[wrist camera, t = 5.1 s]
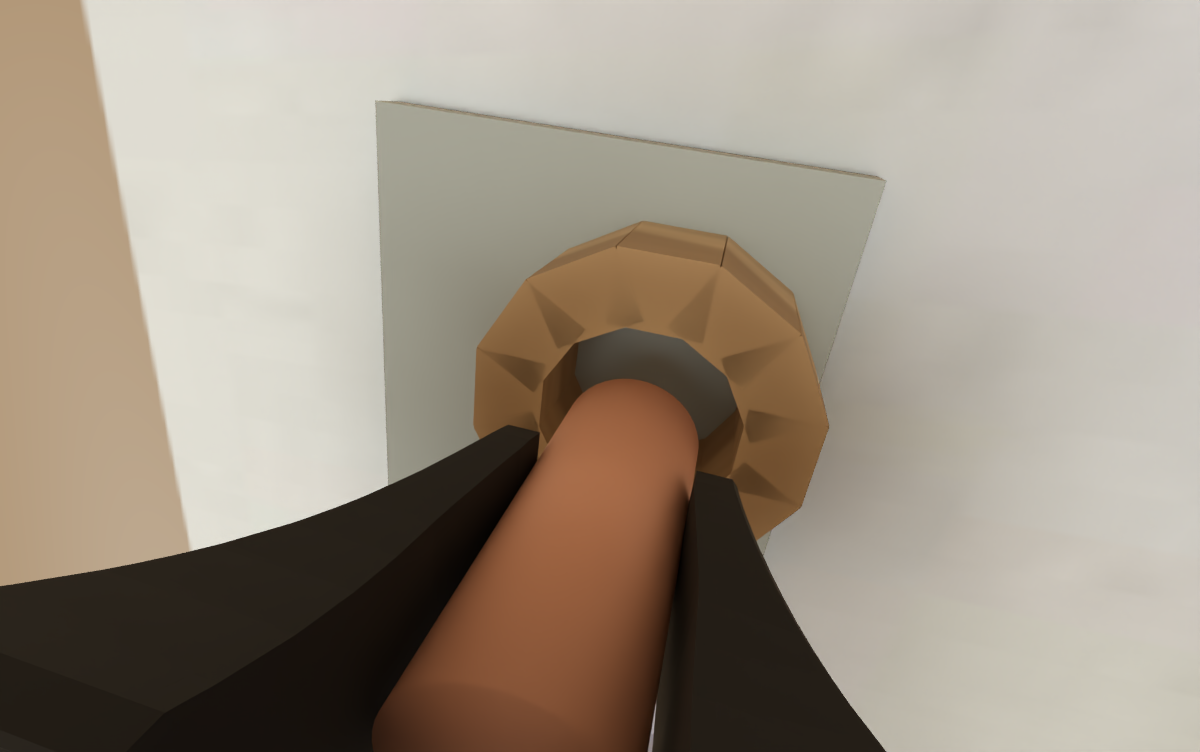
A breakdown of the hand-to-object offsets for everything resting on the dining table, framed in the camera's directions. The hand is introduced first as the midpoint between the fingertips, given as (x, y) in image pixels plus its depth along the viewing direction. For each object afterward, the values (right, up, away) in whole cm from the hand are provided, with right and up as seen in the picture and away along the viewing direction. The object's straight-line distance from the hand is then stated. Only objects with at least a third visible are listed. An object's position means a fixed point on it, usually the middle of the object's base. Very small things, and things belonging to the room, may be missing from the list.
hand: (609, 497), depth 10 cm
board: (-1, +1, +7) cm, 7 cm away
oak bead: (+1, +2, +5) cm, 6 cm away
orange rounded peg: (0, +1, +2) cm, 2 cm away
